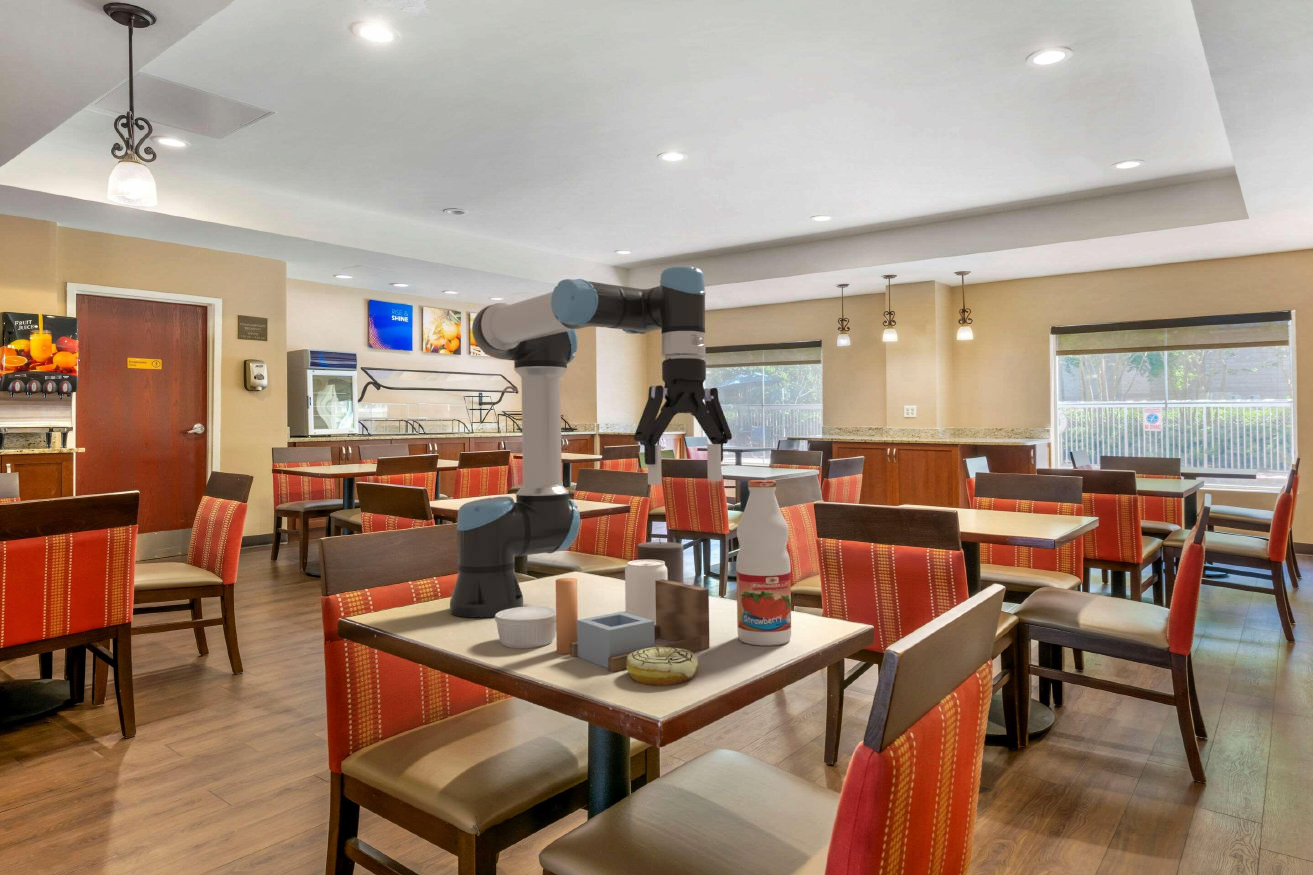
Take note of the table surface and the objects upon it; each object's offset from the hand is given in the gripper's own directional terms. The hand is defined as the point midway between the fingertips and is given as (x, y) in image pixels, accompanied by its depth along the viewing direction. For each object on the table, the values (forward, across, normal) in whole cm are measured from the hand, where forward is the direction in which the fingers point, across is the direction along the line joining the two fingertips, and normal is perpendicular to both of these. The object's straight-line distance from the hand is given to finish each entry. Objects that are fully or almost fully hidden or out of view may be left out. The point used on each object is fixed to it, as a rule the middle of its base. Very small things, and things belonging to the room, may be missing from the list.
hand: (685, 482), depth 130 cm
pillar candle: (+28, +14, +24) cm, 40 cm away
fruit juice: (+28, +13, -6) cm, 32 cm away
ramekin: (+28, -19, +21) cm, 40 cm away
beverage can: (+28, +4, +16) cm, 33 cm away
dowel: (+28, -17, +11) cm, 35 cm away
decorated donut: (+28, -14, -10) cm, 33 cm away
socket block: (+28, -13, +3) cm, 31 cm away
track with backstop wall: (+28, -8, +3) cm, 29 cm away
